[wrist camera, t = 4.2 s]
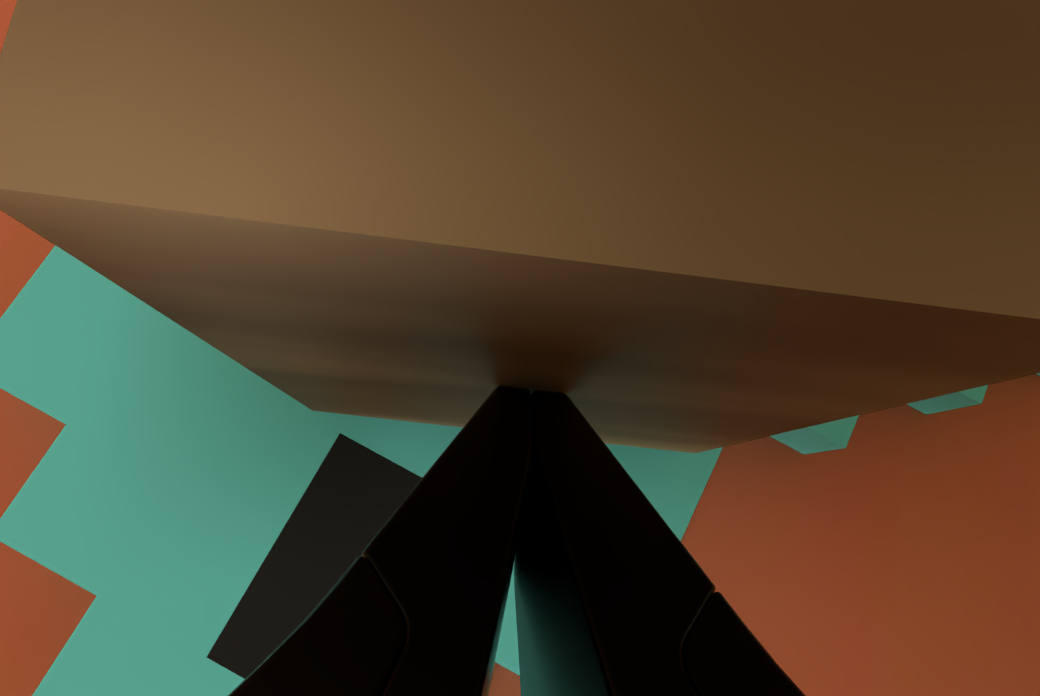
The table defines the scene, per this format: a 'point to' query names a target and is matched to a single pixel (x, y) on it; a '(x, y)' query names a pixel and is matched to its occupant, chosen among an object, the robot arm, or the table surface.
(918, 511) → the table surface
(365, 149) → the marking gauge
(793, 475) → the table surface
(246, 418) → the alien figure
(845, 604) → the table surface
